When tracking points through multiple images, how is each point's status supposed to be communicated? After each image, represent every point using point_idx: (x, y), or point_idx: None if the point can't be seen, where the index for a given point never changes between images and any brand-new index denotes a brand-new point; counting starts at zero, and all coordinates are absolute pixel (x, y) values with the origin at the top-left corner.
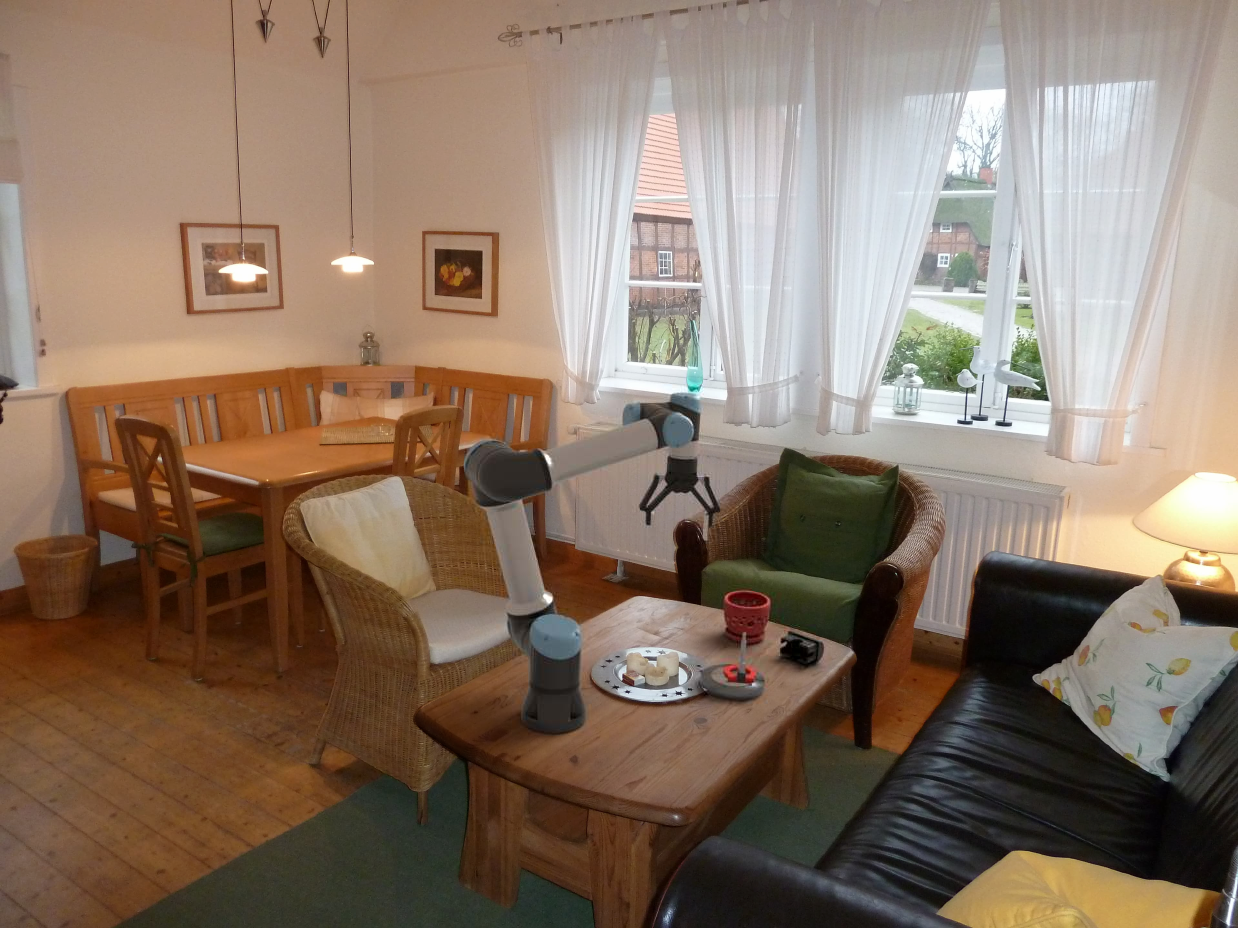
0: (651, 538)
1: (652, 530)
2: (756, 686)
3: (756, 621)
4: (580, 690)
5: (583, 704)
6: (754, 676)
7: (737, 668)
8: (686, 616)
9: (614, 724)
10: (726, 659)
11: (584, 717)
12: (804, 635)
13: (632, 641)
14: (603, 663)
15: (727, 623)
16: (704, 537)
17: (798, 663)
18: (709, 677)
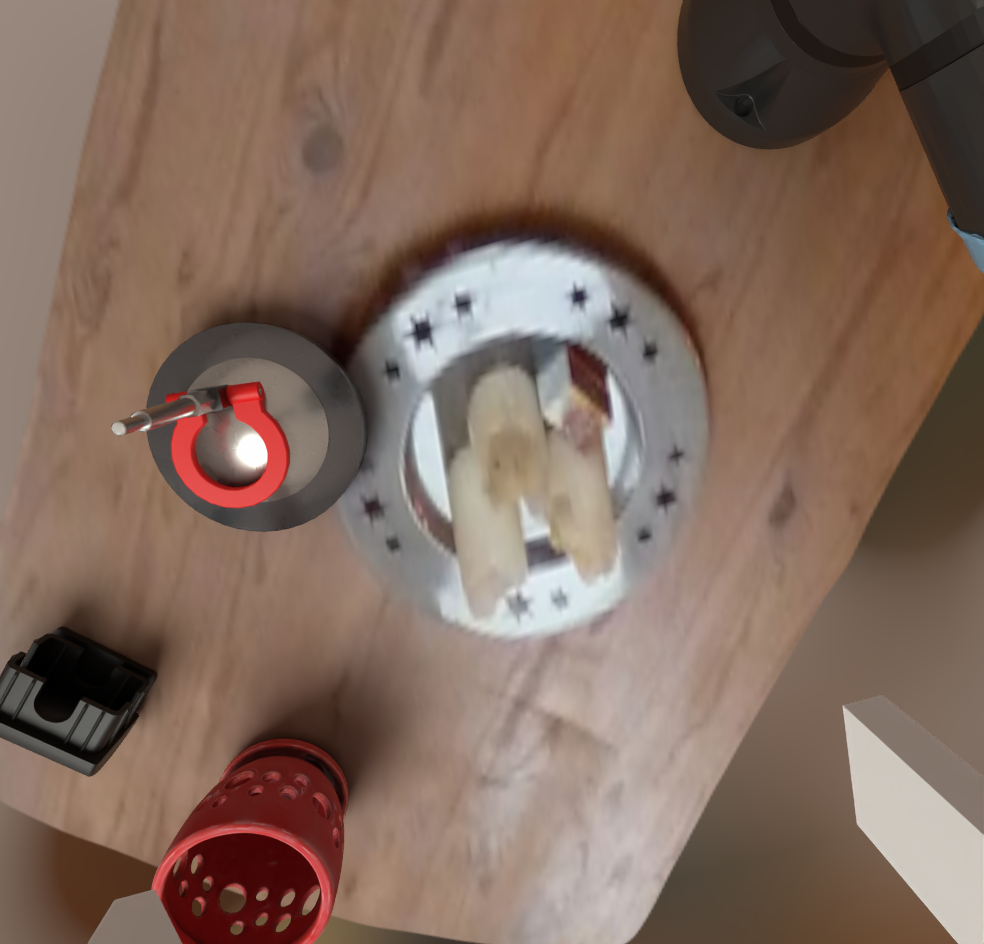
0: (870, 706)
1: (968, 799)
2: (165, 383)
3: (214, 793)
4: (745, 13)
5: (710, 8)
6: (174, 430)
7: (246, 486)
8: (483, 867)
9: (584, 44)
10: (317, 613)
11: (686, 10)
12: (34, 747)
13: (615, 651)
14: (679, 474)
15: (328, 789)
16: (129, 934)
17: (88, 642)
18: (331, 408)
